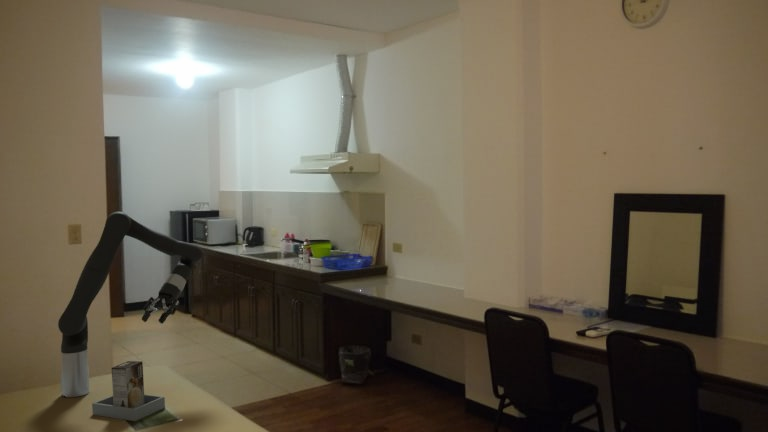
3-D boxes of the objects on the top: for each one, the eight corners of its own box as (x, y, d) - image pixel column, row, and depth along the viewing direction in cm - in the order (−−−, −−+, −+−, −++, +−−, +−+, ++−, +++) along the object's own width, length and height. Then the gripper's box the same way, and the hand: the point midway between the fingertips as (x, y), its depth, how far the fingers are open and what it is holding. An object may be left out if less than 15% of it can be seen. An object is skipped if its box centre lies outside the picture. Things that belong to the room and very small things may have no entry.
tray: (92, 414, 216) (92, 403, 216) (123, 401, 229) (123, 391, 229) (135, 421, 208) (134, 409, 208) (164, 407, 221) (164, 396, 221)
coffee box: (130, 403, 224) (128, 360, 223) (145, 404, 222) (143, 361, 222) (113, 412, 215) (111, 367, 214) (128, 413, 213) (126, 368, 213)
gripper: (154, 281, 245) (132, 314, 234) (181, 282, 239) (160, 317, 229) (164, 292, 250) (143, 325, 239) (191, 294, 244) (171, 328, 234)
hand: (151, 321), depth 234 cm, fingers open, 8 cm apart
